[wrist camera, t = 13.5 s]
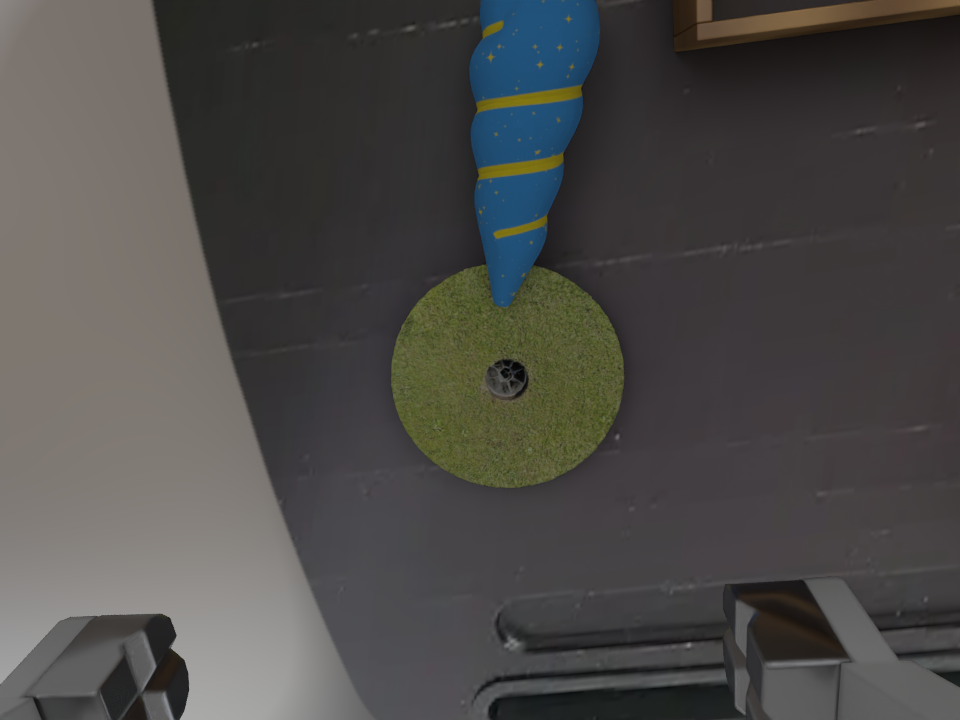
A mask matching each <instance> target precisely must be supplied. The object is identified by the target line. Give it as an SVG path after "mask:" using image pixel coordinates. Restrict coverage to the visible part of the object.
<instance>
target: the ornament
mask: <svg viewBox="0 0 960 720" xmlns="http://www.w3.org/2000/svg"><path fill="white" fill-rule="evenodd" d="M480 23H481V29H482V35H483V39H482V40H481V42H480V43H479V44H478V46H477V47H476V49H475V51H474V53H473V55H472V57H471V60H470V65H469V77H470V83H471V88H472V92H473V96H474V99H475V102H476V106H477V109H478V110H477V112H476V114H475V117H474V119H473V122H472V126H471V134H470V137H471V145H472V150H473V154H474V158H475V162H476V165H477V169H478V173H479V178H478V180H477V183H476V187H475V193H474V203H475V211H476V216H477V221H478V226H479V231H480V235H481V240H482V244H483V249H484V253H485V258H486V263H487V269H488V274H489V279H490V285H491V291H492V297H493V301H494V303H495V304H496V305H497V306H500V307H507V306H509V305H510V304H511V302H512V301H513V299H514V297H515V294H516V293H517V291H518V289H519V287H520V286H521V284H522V282H523V281H524V279H525V277H526V276H527V274H528V272H529V271H530V269H531V267H532V266H533V264H534V262H535V261H536V259H537V257H538V255H539V254H540V252H541V250H542V248H543V246H544V243H545V240H546V236H547V229H548V222H547V214H548V212H549V210H550V208H551V206H552V203H553V201H554V199H555V197H556V195H557V193H558V190H559V188H560V185H561V182H562V178H563V173H564V158H563V153H564V151H565V149H566V147H567V146H568V144H569V142H570V140H571V138H572V136H573V135H574V133H575V131H576V129H577V126H578V124H579V121H580V118H581V115H582V110H583V96H582V91H581V87H582V85H583V83H584V81H585V79H586V77H587V75H588V74H589V72H590V69H591V67H592V65H593V63H594V60H595V58H596V55H597V51H598V47H599V42H600V19H599V13H598V8H597V4H596V1H595V0H481V6H480Z"/></svg>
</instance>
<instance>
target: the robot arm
mask: <svg viewBox="0 0 960 720" xmlns="http://www.w3.org/2000/svg"><path fill="white" fill-rule="evenodd" d="M723 610H724V613H725V615H726V618H727V621H728V623H729V626H730V627H729V628H728V630H727V631H726V632H725V633H724V634H723V655H724V663H725V670H726V677H727V681H728V685H729V689H730V693H731V696H732V699H733V702H734V705H735V707H736V708H737V709H738V710H739V711H740V712H742V713H743V714H744V715H745V716H746V720H960V688H959V687H958V686H956V685H954V684H952V683H951V682H949V681H947V680H945V679H943V678H942V677H940V676H938V675H936V674H935V673H933V672H931V671H929V670H928V669H926V668H924V667H922V666H921V665H919V664H917V663H915V662H913V661H900V660H899V659H898V658H897V656H896V655H895V653H894V652H893V650H892V649H891V647H890V646H889V645H888V643H887V642H886V640H885V639H884V637H883V636H882V634H881V633H880V632H879V630H878V629H877V627H876V626H875V624H874V623H873V621H872V620H871V619H870V617H869V616H868V614H867V613H866V611H865V610H864V608H863V607H862V606H861V604H860V603H859V601H858V600H857V598H856V597H855V595H854V594H853V593H852V591H851V590H850V588H849V587H848V585H847V584H846V582H845V581H844V580H843V579H841V578H840V577H838V576H828V577H816V578H803V579H799V580H791V581H774V582H757V583H739V584H725V587H724V592H723ZM175 638H176V633H175V630H174V627H173V624H172V622H171V619H170V618H169V617H167V616H165V615H163V614H136V615H102V616H83V617H69V618H67V619H64V620H62V621H59V622H58V623H57V624H56V625H55V627H53V629H52V630H51V631H50V632H49V633H48V634H47V635H46V636H45V637H44V638H43V639H42V640H41V641H40V643H39V644H38V645H37V646H36V647H35V648H34V649H33V650H32V651H31V652H30V653H29V654H28V655H27V657H26V658H25V659H24V660H23V661H22V662H21V663H20V664H19V665H18V666H17V667H16V668H15V669H14V671H13V672H12V673H11V674H10V675H9V676H8V677H7V678H6V679H5V680H4V681H3V682H2V683H1V684H0V720H180V718H181V716H182V714H183V712H184V710H185V706H186V701H187V697H188V692H189V680H188V671H187V668H186V664H185V661H184V659H182V658H181V657H180V656H179V655H178V654H177V653H176V652H174V651H173V650H172V649H171V647H172V645H173V643H174V641H175Z"/></svg>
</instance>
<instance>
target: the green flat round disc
mask: <svg viewBox="0 0 960 720" xmlns="http://www.w3.org/2000/svg"><path fill="white" fill-rule="evenodd" d="M591 298H592V297H591V296H590V295H588V294H587V293H586V292H585V291H583V290H582V289H581V288H580V287H579V286H578V285H576V284H575V283H574V282H571V281H570V280H569V279H567V278H564V277H563V276H561V275H560V274H558V273H556V272H553V271H551V270H549V269H545V268H541V267H538V266H535V265H533V266H532V267H531V269H530V271H529V272H528V274H527V276H526V277H525V279H524V281H523V282H522V284H521V286H520V287H519V289H518V291H517V293H516V294H515V297H514V299H513V301H512V302H511V304H510V305H509V306H507V307H500V306H497V305H496V304H495V303H494V301H493V297H492V291H491V285H490V279H489V274H488V269H487V264H483V265H482V266H474V267H472V268H469V269H465V270H464V271H463V272H462V271H460V272H458V273H456V274H454V275H452V276H450V277H448V278H447V279H445V280H444V281H443V282H441V284H439V285H437V286H435V287H434V288H432V289H431V290H430V291H428V292H427V293H426V295H425V296H424V297H423V298H421V299H420V300H419V301H418V303H417V304H416V305H415V307H414V308H413V310H411V312H410V314H409V315H408V317H407V318H406V320H405V322H404V324H403V325H402V327H401V331H400V333H399V335H398V337H397V340H396V344H395V348H394V350H393V351H394V354H393V358H392V365H391V368H392V370H391V376H392V378H391V381H392V384H391V387H393V388H392V392H393V398H394V401H395V406H396V410H397V411H398V415H399V417H400V419H401V421H402V423H403V426H404V428H405V429H406V431H407V433H408V434H409V436H410V437H411V439H412V440H413V441H414V443H415V444H416V446H417V447H418V448H419V449H420V450H421V451H422V452H423V453H424V454H425V455H426V456H427V457H428V458H430V459H431V460H432V461H433V462H434V463H435V464H437V465H438V466H439V467H441V468H443V469H444V470H446V471H448V472H449V473H452V474H453V475H455V476H457V477H460V478H461V479H464V480H467V481H470V482H472V483H475V484H481V485H484V486H489V487H497V488H498V487H502V488H514V487H522V486H529V485H530V486H532V485H534V484H539V483H540V482H545V481H549V480H552V479H554V478H556V476H560V475H561V474H564V473H566V472H567V470H571V469H573V468H575V467H576V466H577V465H578V464H580V463H581V462H582V461H583V460H585V459H586V458H587V457H589V455H590V454H591V453H593V451H594V450H596V449H597V447H598V445H599V444H600V443H601V442H602V441H603V439H604V438H605V436H606V433H608V431H609V430H610V427H611V425H612V424H613V422H614V419H615V417H616V415H617V412H618V410H619V405H620V401H621V399H622V391H623V388H624V385H623V383H624V366H623V357H622V353H621V349H620V344H619V342H618V338H617V336H616V333H615V330H614V328H613V326H612V324H611V323H610V322H609V319H608V317H607V315H605V314H604V311H602V310H601V307H600V306H599V305H598V304H597V303H596V301H595V300H591Z"/></svg>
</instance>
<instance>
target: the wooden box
mask: <svg viewBox="0 0 960 720" xmlns="http://www.w3.org/2000/svg"><path fill="white" fill-rule="evenodd" d="M953 15H960V0H868V1H860V2H853V3H845V4H838V5H831V6H823V7H816V8H809V9H801V10H794V11H786V12H779V13H772V14H764V15H757V16H749V17H742V18H735V19H727V20H720V21H713V22H711V21H712V19H713V17H712V0H673V35H674V52H679V51H687V50H695V49H702V48H710V47H717V46H725V45H732V44H740V43H748V42H755V41H763V40H770V39H778V38H786V37H793V36H801V35H808V34H816V33H824V32H831V31H839V30H846V29H854V28H862V27H869V26H877V25H884V24H892V23H899V22H907V21H915V20H922V19H930V18H937V17H945V16H953Z"/></svg>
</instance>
